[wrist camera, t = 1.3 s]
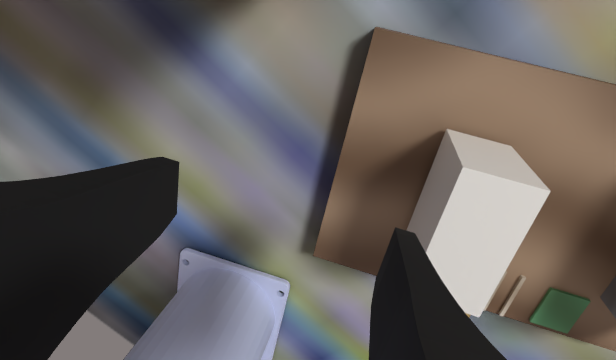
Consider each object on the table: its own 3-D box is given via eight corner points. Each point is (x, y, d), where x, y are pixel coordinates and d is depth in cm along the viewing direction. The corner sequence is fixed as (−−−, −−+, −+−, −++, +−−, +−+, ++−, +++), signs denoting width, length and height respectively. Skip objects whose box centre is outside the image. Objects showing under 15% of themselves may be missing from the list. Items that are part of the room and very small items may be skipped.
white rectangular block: (443, 286, 21) (455, 359, 16) (390, 270, 21) (388, 337, 17) (511, 145, 17) (550, 191, 13) (446, 128, 18) (462, 166, 13)
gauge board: (613, 334, 22) (682, 437, 16) (317, 242, 24) (294, 307, 18) (781, 124, 16) (972, 177, 11) (376, 26, 18) (367, 30, 13)
